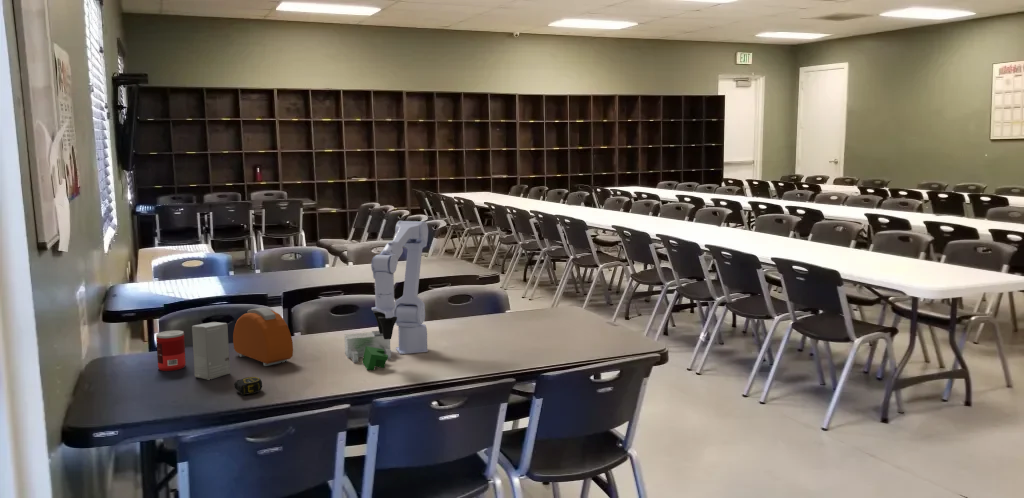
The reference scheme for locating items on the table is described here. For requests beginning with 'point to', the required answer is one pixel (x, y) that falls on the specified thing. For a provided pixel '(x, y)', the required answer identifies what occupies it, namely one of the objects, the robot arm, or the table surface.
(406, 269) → the robot arm
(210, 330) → the skincare box
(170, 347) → the canned food
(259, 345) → the orange toaster
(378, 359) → the clamp
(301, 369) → the table surface
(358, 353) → the motor housing
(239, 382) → the tape measure
